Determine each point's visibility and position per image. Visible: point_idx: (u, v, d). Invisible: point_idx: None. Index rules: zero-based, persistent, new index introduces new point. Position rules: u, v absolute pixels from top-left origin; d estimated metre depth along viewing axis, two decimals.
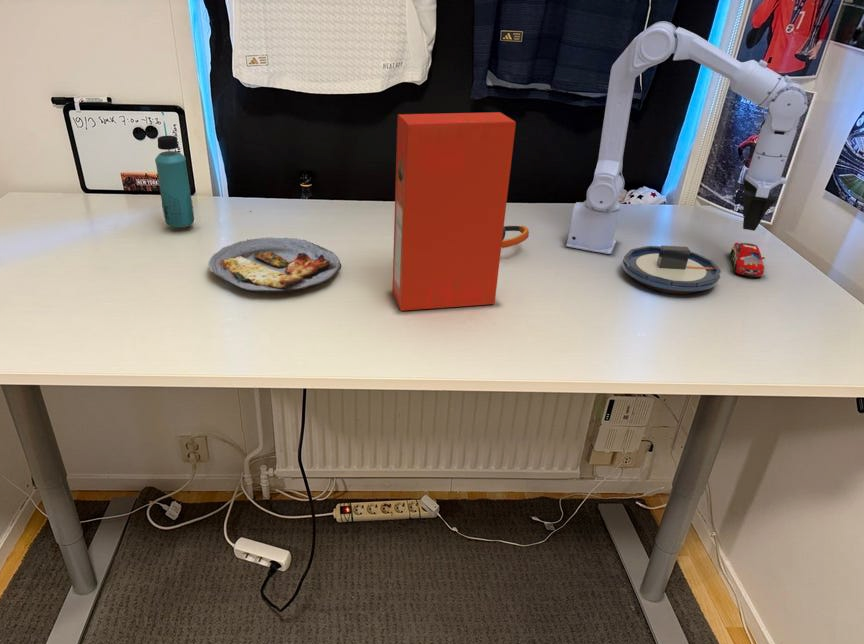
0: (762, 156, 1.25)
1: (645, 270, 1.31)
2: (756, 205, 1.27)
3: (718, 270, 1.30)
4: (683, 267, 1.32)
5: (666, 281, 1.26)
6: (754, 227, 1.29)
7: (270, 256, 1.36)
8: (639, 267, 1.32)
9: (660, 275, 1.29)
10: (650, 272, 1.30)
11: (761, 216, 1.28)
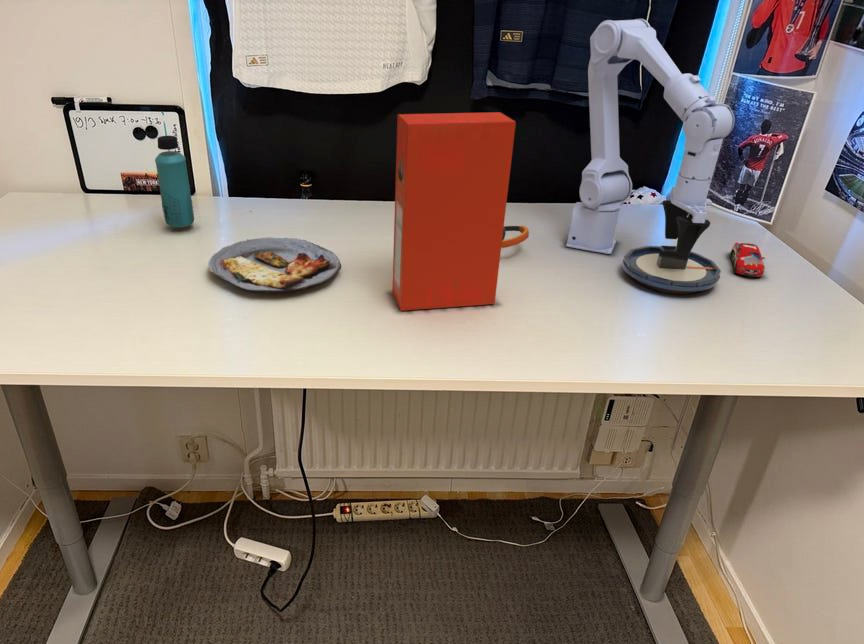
0: (690, 180, 1.21)
1: (645, 270, 1.31)
2: (689, 229, 1.24)
3: (718, 270, 1.30)
4: (683, 267, 1.32)
5: (666, 281, 1.26)
6: (688, 251, 1.27)
7: (270, 256, 1.36)
8: (639, 267, 1.32)
9: (660, 275, 1.29)
10: (650, 272, 1.30)
11: (695, 240, 1.25)
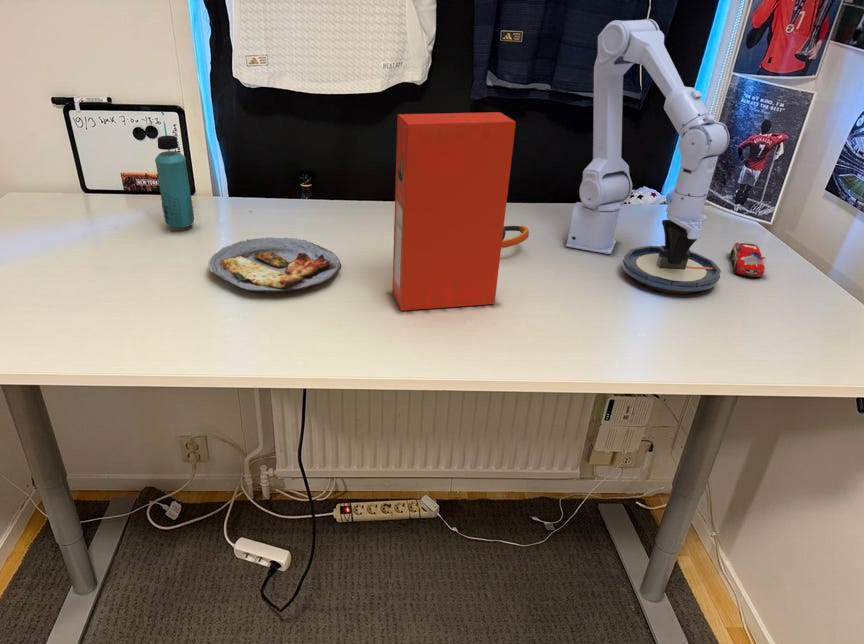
0: (686, 197, 1.23)
1: (645, 270, 1.31)
2: (681, 240, 1.28)
3: (718, 270, 1.30)
4: (683, 267, 1.32)
5: (666, 281, 1.26)
6: (680, 261, 1.30)
7: (270, 256, 1.36)
8: (639, 267, 1.32)
9: (660, 275, 1.29)
10: (650, 272, 1.30)
11: (686, 250, 1.29)
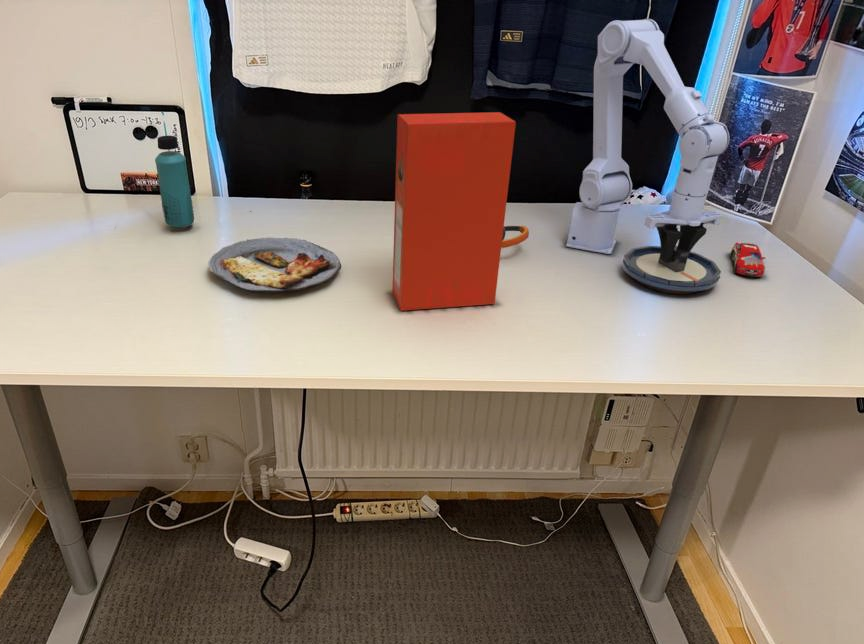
0: (674, 191, 1.26)
1: (641, 257, 1.36)
2: None
3: (693, 282, 1.25)
4: (674, 269, 1.31)
5: (627, 263, 1.32)
6: (666, 259, 1.31)
7: (270, 256, 1.36)
8: (644, 255, 1.37)
9: (642, 263, 1.34)
10: (641, 259, 1.35)
11: (668, 249, 1.29)
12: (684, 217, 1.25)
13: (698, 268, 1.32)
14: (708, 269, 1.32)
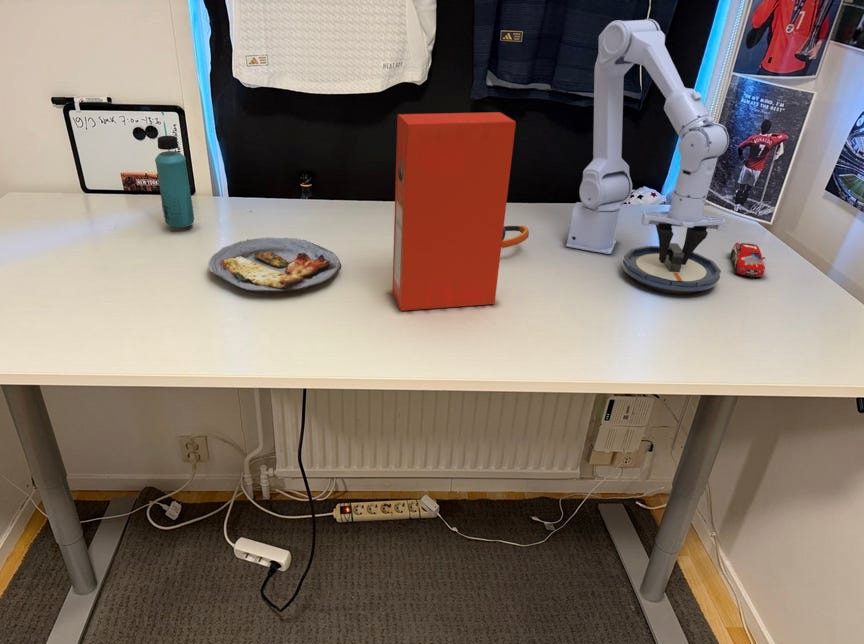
0: None
1: (651, 254, 1.38)
2: None
3: (670, 280, 1.26)
4: (668, 268, 1.31)
5: (625, 255, 1.36)
6: (661, 259, 1.32)
7: (270, 256, 1.36)
8: (657, 253, 1.38)
9: (644, 258, 1.36)
10: (647, 256, 1.37)
11: None
12: (678, 217, 1.25)
13: (698, 273, 1.30)
14: (709, 276, 1.30)
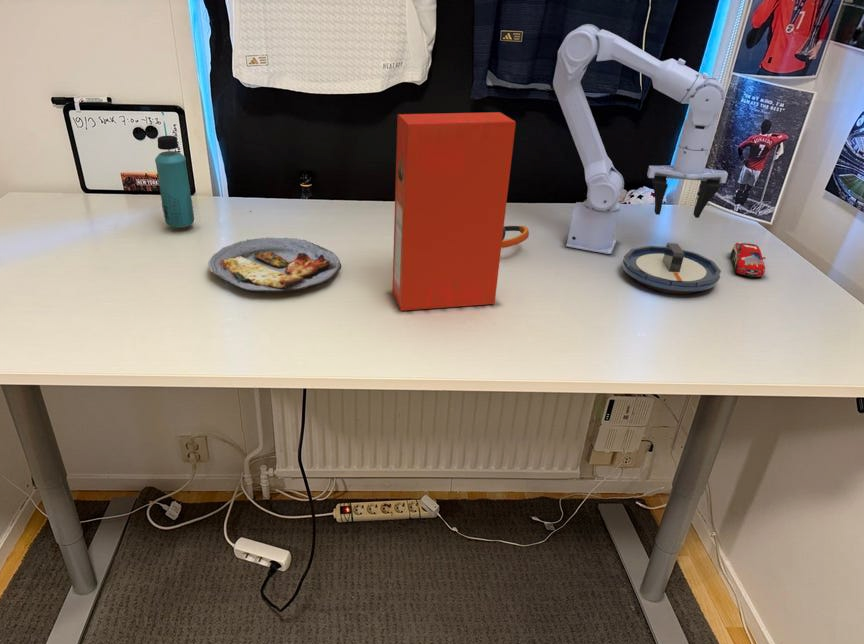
0: None
1: (651, 254, 1.38)
2: None
3: (670, 280, 1.26)
4: (668, 268, 1.31)
5: (625, 255, 1.36)
6: (656, 211, 1.38)
7: (270, 256, 1.36)
8: (657, 253, 1.38)
9: (644, 258, 1.36)
10: (647, 256, 1.37)
11: None
12: (682, 170, 1.32)
13: (698, 273, 1.30)
14: (709, 276, 1.30)
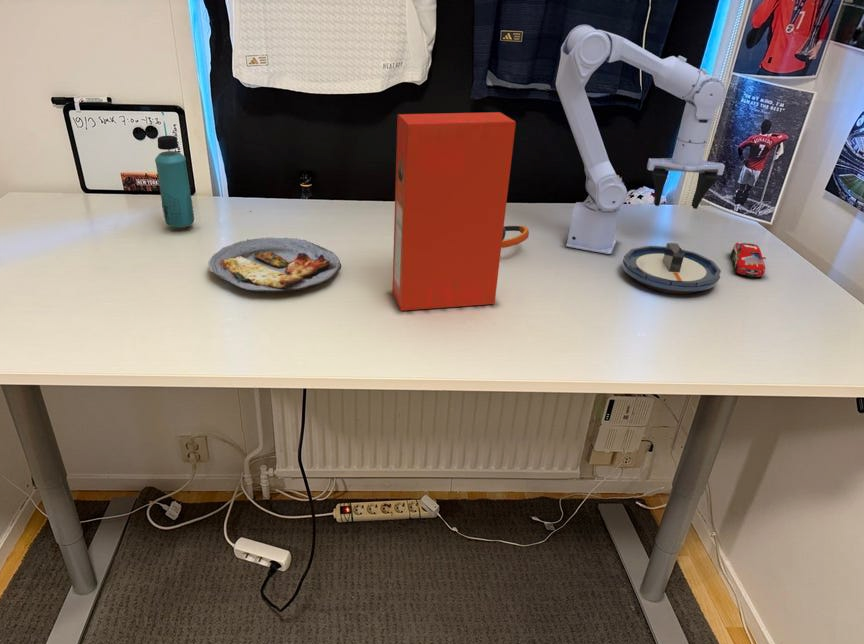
0: None
1: (651, 254, 1.38)
2: None
3: (670, 280, 1.26)
4: (668, 268, 1.31)
5: (625, 255, 1.36)
6: (655, 202, 1.43)
7: (270, 256, 1.36)
8: (657, 253, 1.38)
9: (644, 258, 1.36)
10: (647, 256, 1.37)
11: None
12: (681, 162, 1.36)
13: (698, 273, 1.30)
14: (709, 276, 1.30)
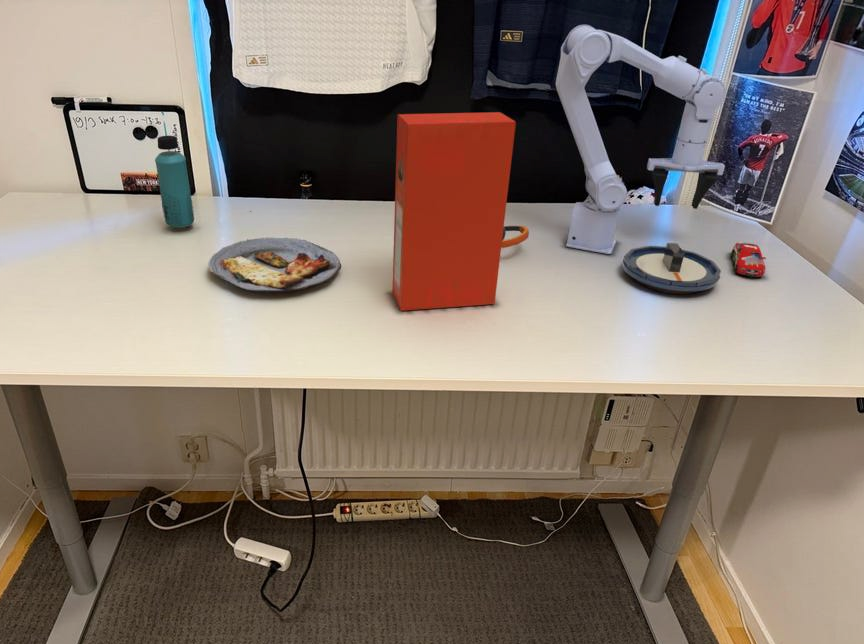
0: None
1: (651, 254, 1.38)
2: None
3: (670, 280, 1.26)
4: (668, 268, 1.31)
5: (625, 255, 1.36)
6: (655, 202, 1.43)
7: (270, 256, 1.36)
8: (657, 253, 1.38)
9: (644, 258, 1.36)
10: (647, 256, 1.37)
11: None
12: (681, 162, 1.36)
13: (698, 273, 1.30)
14: (709, 276, 1.30)
